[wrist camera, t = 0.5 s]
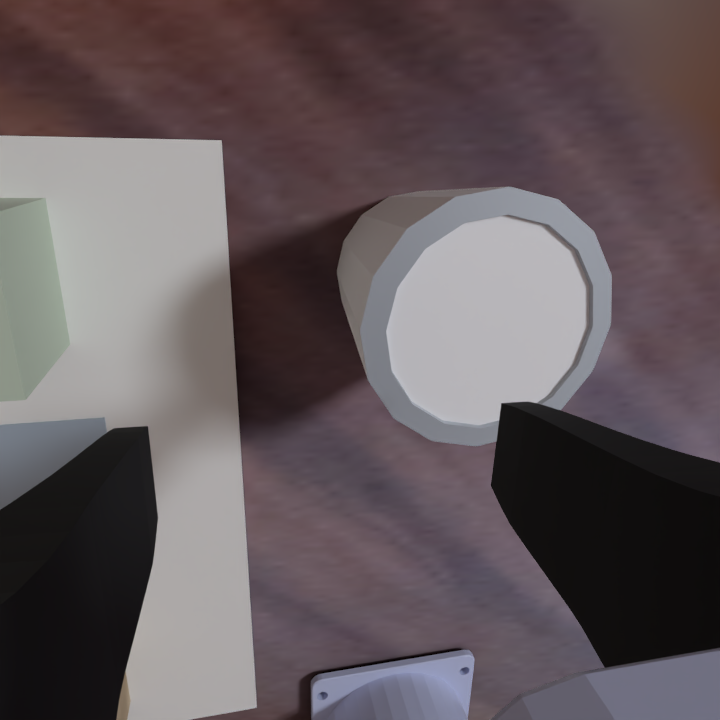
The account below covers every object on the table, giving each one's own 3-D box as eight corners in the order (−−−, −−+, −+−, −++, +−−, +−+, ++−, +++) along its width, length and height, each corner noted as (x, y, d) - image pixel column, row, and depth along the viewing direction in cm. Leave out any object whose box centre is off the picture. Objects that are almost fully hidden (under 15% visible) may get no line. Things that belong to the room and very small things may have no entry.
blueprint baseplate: (256, 695, 26) (256, 709, 26) (-116, 759, 23) (-125, 776, 23) (221, 140, 18) (221, 140, 17) (-368, 127, 15) (-394, 127, 14)
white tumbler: (448, 382, 23) (534, 476, 16) (289, 322, 20) (316, 404, 14) (532, 221, 21) (664, 256, 15) (369, 137, 19) (440, 133, 12)
